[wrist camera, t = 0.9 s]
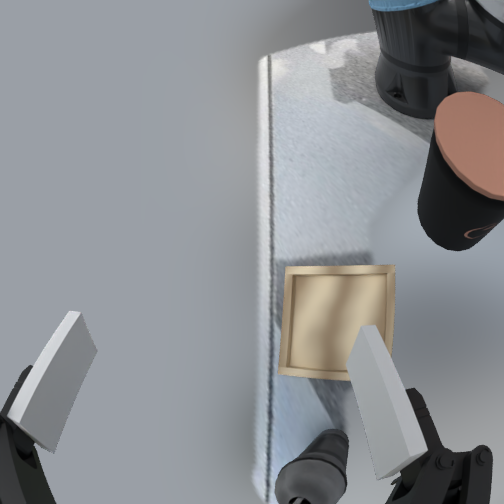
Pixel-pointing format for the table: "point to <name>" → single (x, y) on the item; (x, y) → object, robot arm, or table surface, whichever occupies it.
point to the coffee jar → (464, 171)
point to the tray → (332, 316)
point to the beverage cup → (316, 472)
